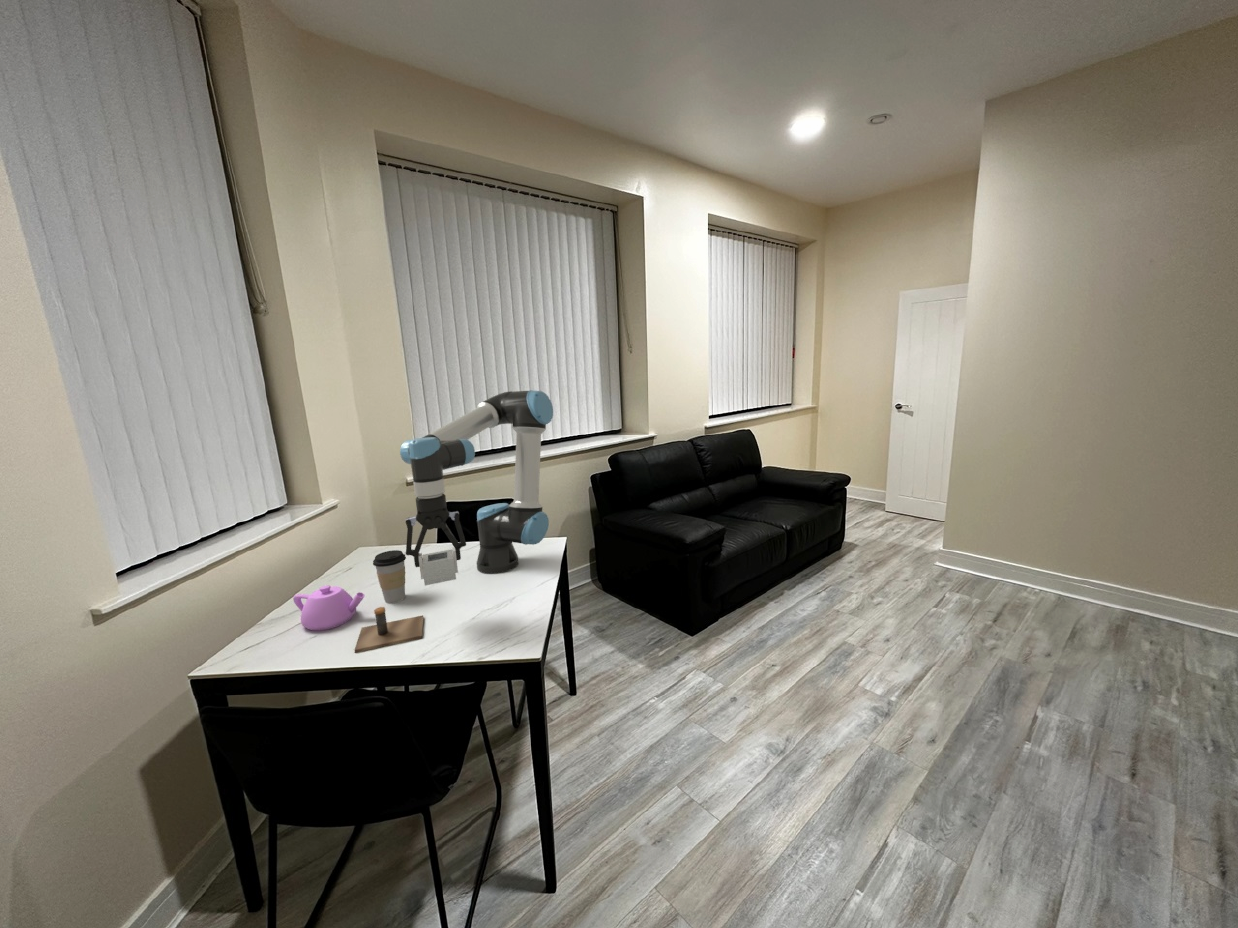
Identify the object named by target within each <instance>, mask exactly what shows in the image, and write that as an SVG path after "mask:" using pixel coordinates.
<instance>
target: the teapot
mask: <svg viewBox="0 0 1238 928" xmlns="http://www.w3.org/2000/svg"><path fill="white" fill-rule="evenodd" d="M364 598H365V594H364V593H363V592H361V591H360V592H357V593H356V595H355V596H354V597H352V595H351V594H350V593H348V592H347V590H345V589H344V588H342V587H340V586H335V585H334V586H331V585H330V584H327V585H323V586H321V587H319V589H317V590H314V591H313V592H312V593H311V594H305V593H304V594H302V593H298V594H295V595H294V596H293V599H292V600H293V603H294V605H295V606H296V607H297V609H299V610H300V611H301V614H300V623H301V625H302V626H303V627H304V628H306V629H308V630H311V631H326V630H329V629H334V628H336V627H337V628H338V627H339V626H341V625H343V624H345V623H347V622H348V621H350V619H352V617H353V616H354V614H355V613H356V611H357V607H358V606H359V605H360V603H361V602H362V601H363V600H364ZM302 599H306V601H305V602H304V603H303V602H302Z"/></svg>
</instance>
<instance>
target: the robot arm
mask: <svg viewBox="0 0 1238 928" xmlns="http://www.w3.org/2000/svg"><path fill="white" fill-rule="evenodd" d="M553 417H554V407H553V403H552V400H551V399H550V397H549V395H548V394H547V393H546V392H544V391H541V390H521V391H519V390H517V391H513V390H511V391H504V392H501V393H498V394H496V395H494V396H491V397H489V398H488V399H486V400H484V401H482V402H480V403H478V404H477V406H476V407H475V409H472V410H471V411H469V412H467V413H466V414H464V415H461V416H459V418H456V419H454V420H453V421H450V422H448V423H447V424H445V425H443V426H441V427H440V428H438V429H436V430H433V431H432V432H430V433H428V434H427V435H426V434H425V435H424V436H422V437H420V438H419V437H418V438H413V439H407V440H405V441H404V442H403V443H402V444H401V446H400V449H399V455H400V458H401V460H402V461H403V462H404V463H406V464H408V465H410V466H411V473H412V480H413V482H412V483H413V490H414V491H413V492H414V496H416V498H415V504H416V512H417V513H416V515H415V516H413V517H406V519H405V524H406V528H407V532H406V545H405V547H406V548H405V556H412V557H413V561H414V567H415V568H419V572H420V573H419V574H420V580H424V577H423V570H422V555H423V554H422V552H420V551H421V549H422V544H423V542H424V539H425V537H426V534H427V532H428V530H434V529H438V530H439V529H442V531H443V532H444V534H445V536H446V537H447V538H448V540H449V541H450V543H451V544H452V546H453V547H452V550H453V558H454V566H455V574H459V570H458V561H460V560H461V559H462V556H461V555H462V554H461V549H462V548H463V547H466V546H467V541H466V539H465V535H464V532H463V531H464V530H463V528H462V525H461V521H460V512H459V511H458V510H456V511H449V510H448V508H447V506H448V505H447V498H446V494H445V491H446V490H445V480H444V470H448V469H452V468H455V467H456V468H457V467H461V466H465V465H468V464H470V463H471V462H473V460H474V458H475V455H476V451H475V446H474V444H473V443H472V442H471V441H470V439H471V438H473V437H476V435H477V434H480V433H481V432H484V430H486V429H493V428H495V427H497V426H499V425H506V424H507V425H510V424H511V425H512V430H514V432H516V433H515V434H516V439H515V440H516V441H515V467H514V487H513V488H514V490H513V491H514V492H513V501H511V503H510V504H509V503H507V502H502V503H501V502H500V503H494V504H490V505H486V506H483V507H481V508H479V509H478V510H477V512H476V519H477V520H476V524H477V533H478V534H477V535H478V539H479V540H478V542H479V550H478V554H477V560H476V569H477V571H478V572H480V573H482V574H500V573H505V572H509V571H511V570H513V569H515V568H516V567H518V565H519V564H520V561H519V555H518V553H517V551H516V548H515V547H514V544H515V543H517V544H523V545H533V546H535V545H538V544H539V543H540V542H543V541H542V540H544V538H545V537H546V535H547V532H548V530H549V523H550V519H549V517H548V515H547V513H546V512H544V511H543V504H542V503H540V501H539V499H540V498H539V497H540V496H539V494H540V471H541V470H540V469H541V451H542V450H541V447H542V446H541V445H542V434H543V433H544V432H545V431H546V429H547V425H548V424H549V423H551V422H552V419H553ZM448 518H451V520H452V521H454V526H455V529H456V531H457V534H458V538H459V540H460V541H459V542H458V540H457V539H456V537H455V535H454V534H453V533H452V531H451V529H450V528H449V526H448V525H447V523H446V522H447V520H448ZM416 522H418V523H419V524H420V525H421V526H422V527H421V531H420V533H419V536H418V538H417V541H416V544H415V546H414V549H412V547H413V546H412V544H413V531H414V530H413V529H414V526H415V525H416ZM513 543H514V544H513Z"/></svg>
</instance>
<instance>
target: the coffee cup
mask: <svg viewBox="0 0 1238 928" xmlns="http://www.w3.org/2000/svg"><path fill="white" fill-rule="evenodd" d="M406 559H407V557H406V553H405V554H404V553H403V551H401V550H398V549H396V550H388V551H383V552H380V553H378V554H376V555H375V556H374V559H373V561H372V565H373V566H374V567H375V569H376V575H377V579H378V582H379V586H380V589H381V592H382V595H383V600H384V602H385V603H386V604H396V603H398V602H401V601H403V600H405V598H406V565H405V561H406Z"/></svg>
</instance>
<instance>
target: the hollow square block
mask: <svg viewBox="0 0 1238 928" xmlns="http://www.w3.org/2000/svg"><path fill="white" fill-rule="evenodd" d="M422 570H423V577H424V579H423V582H424V586H430V585H434V584H439V583H446V582H449V581H454V580H457V576H456V575H457V573H455V566H454V558H453V549H451V548H450V549H447V550H441V551H435V552H430V553H425V554H422Z"/></svg>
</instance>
